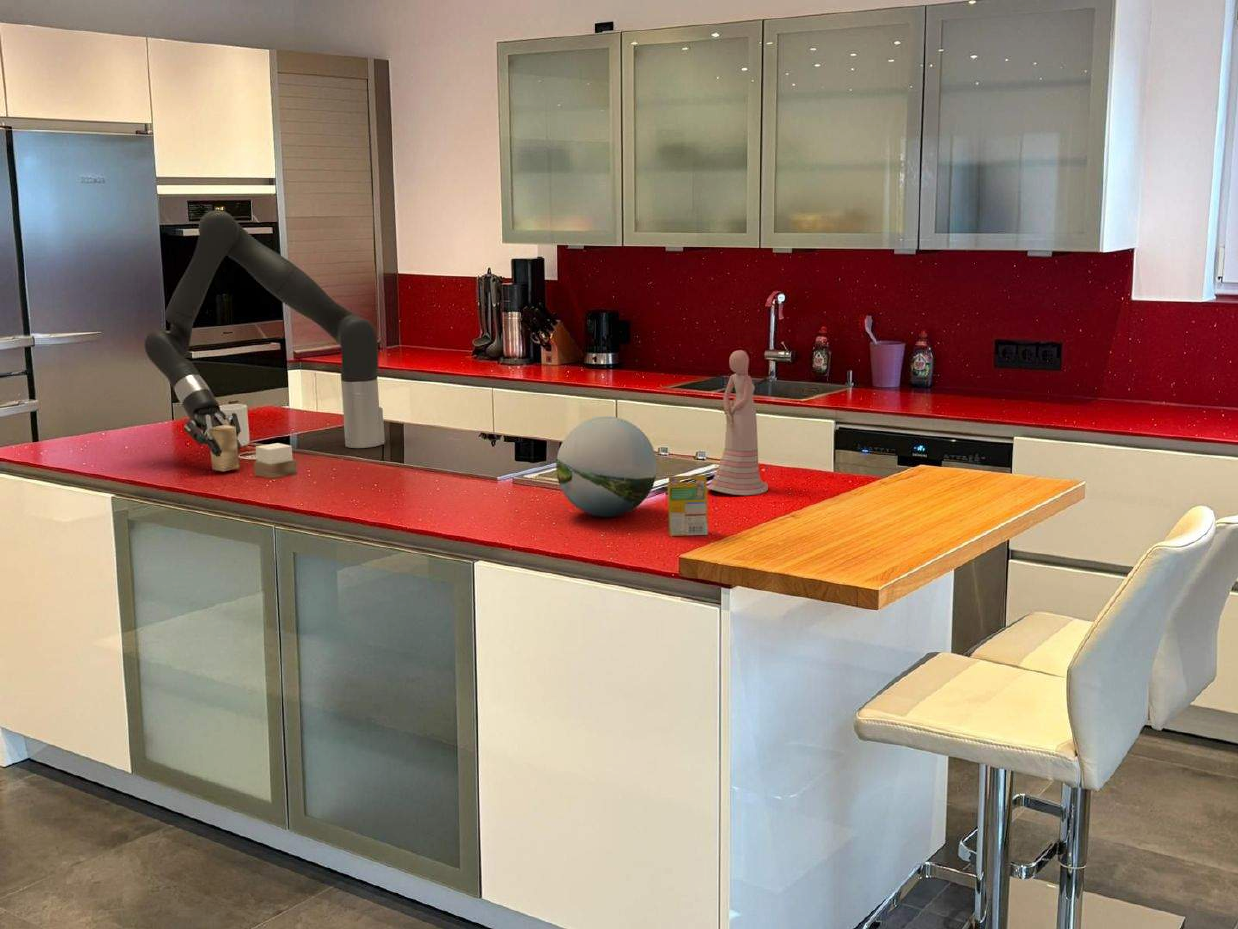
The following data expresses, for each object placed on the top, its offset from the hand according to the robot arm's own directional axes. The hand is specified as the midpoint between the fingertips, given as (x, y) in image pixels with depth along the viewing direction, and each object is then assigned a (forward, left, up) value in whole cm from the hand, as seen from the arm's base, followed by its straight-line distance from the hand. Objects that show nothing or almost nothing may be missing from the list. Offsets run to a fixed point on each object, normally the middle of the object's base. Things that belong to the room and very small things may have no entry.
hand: (228, 452), depth 321 cm
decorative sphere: (-39, +96, -5) cm, 104 cm away
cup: (-14, -34, -5) cm, 37 cm away
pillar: (0, -2, -4) cm, 5 cm away
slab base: (-7, +9, -5) cm, 13 cm away
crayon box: (-41, +118, -5) cm, 125 cm away
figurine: (-73, +98, -5) cm, 122 cm away
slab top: (-7, +9, -2) cm, 12 cm away
